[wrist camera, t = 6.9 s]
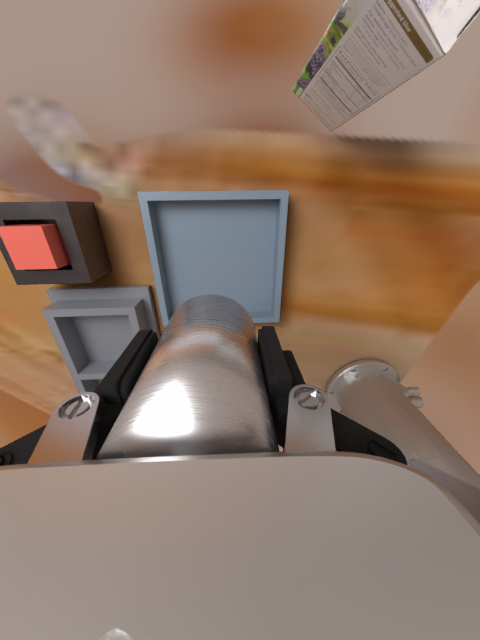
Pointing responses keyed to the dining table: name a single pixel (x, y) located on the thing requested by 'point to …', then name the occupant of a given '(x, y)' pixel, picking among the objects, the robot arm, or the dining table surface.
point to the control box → (77, 236)
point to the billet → (198, 389)
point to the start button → (35, 246)
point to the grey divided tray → (97, 326)
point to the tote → (217, 247)
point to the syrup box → (377, 52)
